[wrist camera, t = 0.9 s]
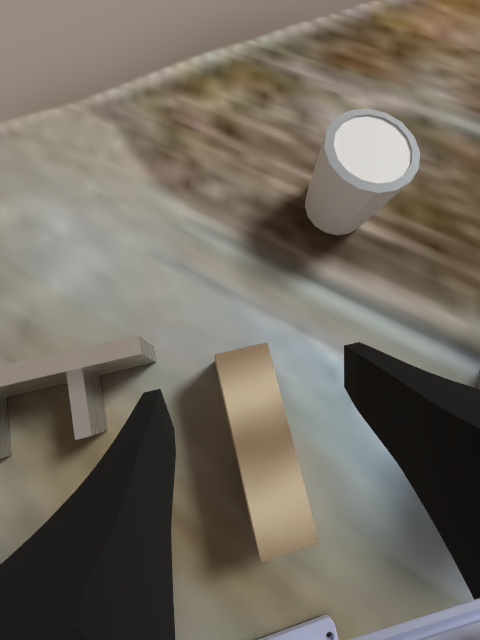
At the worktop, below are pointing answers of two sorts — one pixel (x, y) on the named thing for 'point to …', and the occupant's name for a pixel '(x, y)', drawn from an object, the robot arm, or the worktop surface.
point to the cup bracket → (72, 381)
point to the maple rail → (265, 453)
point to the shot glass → (359, 169)
